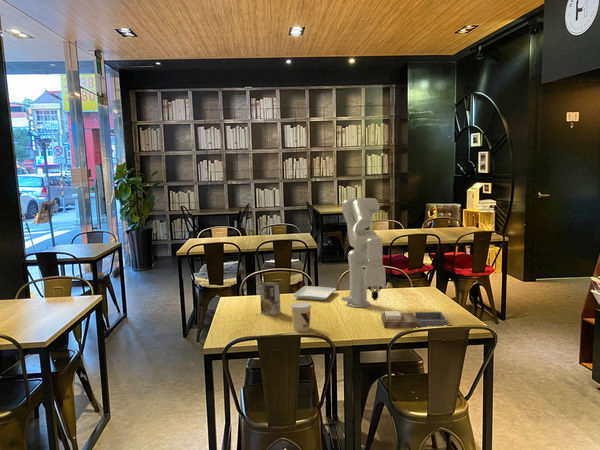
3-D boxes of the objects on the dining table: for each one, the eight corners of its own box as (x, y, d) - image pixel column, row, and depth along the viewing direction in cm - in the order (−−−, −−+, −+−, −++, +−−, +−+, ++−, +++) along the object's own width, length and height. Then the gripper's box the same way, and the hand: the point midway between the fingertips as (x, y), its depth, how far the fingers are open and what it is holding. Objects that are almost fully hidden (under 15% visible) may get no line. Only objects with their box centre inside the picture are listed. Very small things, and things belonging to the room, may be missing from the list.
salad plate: (326, 302, 275) (326, 297, 275) (292, 300, 282) (292, 294, 282) (336, 293, 295) (336, 287, 294) (304, 290, 302) (304, 285, 302)
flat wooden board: (384, 328, 230) (384, 322, 229) (381, 318, 244) (381, 312, 243) (418, 327, 229) (418, 321, 229) (412, 318, 243) (413, 312, 242)
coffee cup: (304, 333, 225) (304, 308, 223) (288, 330, 230) (287, 306, 228) (314, 327, 233) (314, 303, 231) (298, 324, 238) (297, 301, 236)
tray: (418, 327, 229) (418, 320, 229) (413, 318, 243) (413, 312, 242) (447, 327, 228) (447, 320, 228) (440, 318, 242) (441, 311, 241)
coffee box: (281, 312, 258) (280, 283, 256) (275, 315, 252) (274, 285, 250) (266, 310, 262) (265, 281, 260) (260, 313, 256) (259, 284, 254)
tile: (386, 319, 233) (386, 315, 233) (385, 315, 240) (385, 311, 240) (401, 319, 232) (401, 315, 232) (399, 315, 239) (399, 311, 239)
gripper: (359, 264, 230) (360, 301, 232) (391, 264, 229) (391, 301, 231) (358, 261, 237) (359, 297, 239) (389, 261, 236) (389, 297, 238)
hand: (375, 299), depth 235 cm, fingers closed
